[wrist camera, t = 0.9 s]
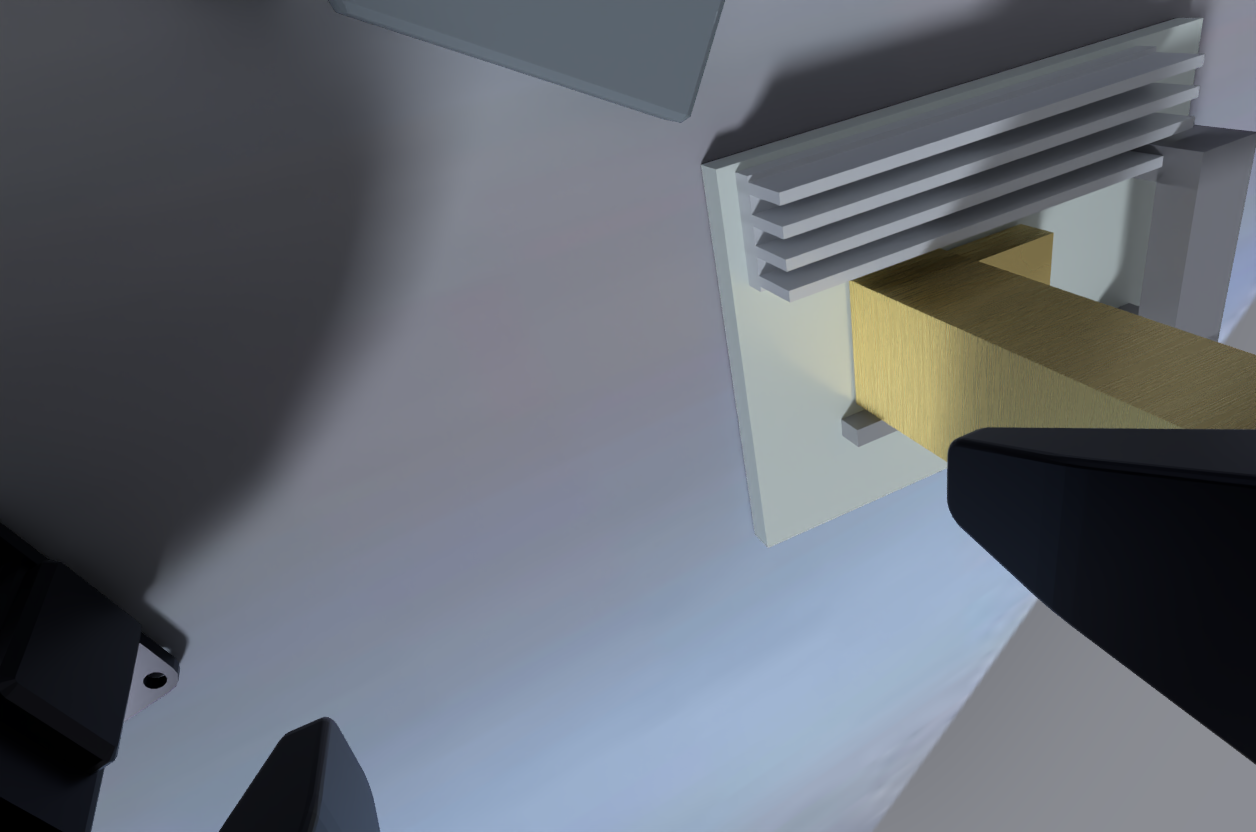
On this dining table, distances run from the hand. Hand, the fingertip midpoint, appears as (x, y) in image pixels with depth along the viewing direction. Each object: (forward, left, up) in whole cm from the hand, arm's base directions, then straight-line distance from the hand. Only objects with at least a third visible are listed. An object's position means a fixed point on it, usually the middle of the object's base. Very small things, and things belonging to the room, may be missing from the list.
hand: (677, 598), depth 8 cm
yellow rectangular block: (+12, -9, -12) cm, 19 cm away
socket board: (+13, -9, -13) cm, 21 cm away
